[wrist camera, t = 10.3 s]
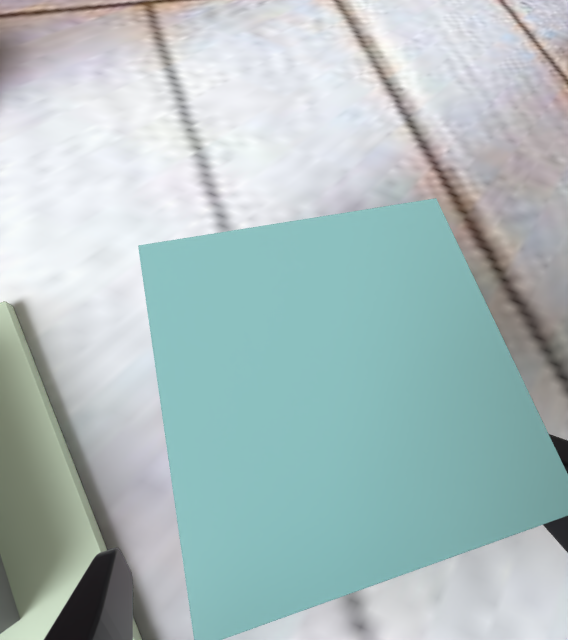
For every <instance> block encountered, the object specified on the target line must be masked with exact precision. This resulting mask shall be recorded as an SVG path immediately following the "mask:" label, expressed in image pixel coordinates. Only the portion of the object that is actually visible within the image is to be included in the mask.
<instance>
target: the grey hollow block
mask: <svg viewBox="0 0 568 640" xmlns="http://www.w3.org/2000/svg"><path fill="white" fill-rule="evenodd" d="M19 620H20V617H19V613H18V610H17V607H16V604H15V600H14V597H13V594H12V591H11V587H10V584H9V581H8V578H7V574H6V571H5V568H4V565H3V561H2V558H1V555H0V634H1V633H2V632H4V631H5V630H6V629H8V628H9V627H11V626H12V625H13V624H15V623H16V622H18V621H19Z"/></svg>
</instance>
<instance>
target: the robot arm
mask: <svg viewBox="0 0 568 640" xmlns="http://www.w3.org/2000/svg"><path fill="white" fill-rule="evenodd" d="M549 436H550V438H551V440H552V442H553V444H554V447H555V449H556V451H557V453H558V455H559V457H560V459H561V461H562V463H563V465H564V468H565V470H566V472H567V474H568V441H567V440H564V439H561V438H559V437H556V436H553V435H550V434H549ZM543 525H544V526H545V528H546V529H547V530H548V531H549V532H550V533H551V534H552V535H553V537H554V538H555V539H556V540H557V541H558V542H559V543H560V544H561V546H562V547H563V548H564V549H565V550H566V551H567V552H568V516H565V517H562V518H559V519H557V520H554V521H551V522H548V523H546V524H543ZM44 640H133V580H132V574H131V570H130V568H129V566H128V564H127V562H126V560H125V558H124V556H123V554H122V552H121V550H120V549H119V548H112V549H109V550H106V551H103V552H100V553H98V554H97V555H96V556H95V557H94V559H93V560H92V562H91V563H90V565H89V567H88V568H87V570H86V572H85V573H84V575H83V576H82V578H81V580H80V581H79V583H78V585H77V586H76V588H75V590H74V591H73V593H72V594H71V596H70V598H69V599H68V601H67V603H66V604H65V606H64V607H63V609H62V611H61V612H60V614H59V616H58V617H57V619H56V620H55V622H54V624H53V625H52V627H51V629H50V630H49V632H48V634H47V635H46V637H45V638H44Z"/></svg>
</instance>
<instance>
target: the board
mask: <svg viewBox="0 0 568 640" xmlns="http://www.w3.org/2000/svg"><path fill="white" fill-rule="evenodd" d="M106 550H107V548H106V546H105V543H104V540H103V538H102V535H101V533H100V530H99V528H98V525H97V522H96V520H95V517H94V515H93V512H92V509H91V507H90V504H89V502H88V499H87V497H86V494H85V491H84V489H83V486H82V484H81V481H80V478H79V476H78V473H77V471H76V468H75V466H74V463H73V460H72V458H71V455H70V453H69V450H68V447H67V445H66V442H65V440H64V437H63V435H62V432H61V429H60V427H59V424H58V422H57V419H56V417H55V414H54V411H53V409H52V406H51V404H50V401H49V398H48V396H47V393H46V391H45V388H44V386H43V383H42V380H41V378H40V375H39V373H38V370H37V367H36V365H35V362H34V360H33V357H32V355H31V352H30V349H29V347H28V344H27V342H26V339H25V337H24V334H23V331H22V329H21V326H20V324H19V321H18V318H17V316H16V313H15V311H14V308H13V306H12V305H10V304H9V303H7V302H5V301H4V302H2V303H0V555H1V558H2V561H3V565H4V568H5V571H6V574H7V578H8V581H9V584H10V587H11V591H12V594H13V597H14V600H15V604H16V607H17V610H18V613H19V617H20V620H19V621H18V622H16V623H15V624H13V625H12V626H11V627H9V628H8V629H6V630H5V631H4V632H2V633H1V634H0V640H44V638H45V637H46V635H47V634H48V632H49V630H50V629H51V627H52V625H53V624H54V622H55V620H56V619H57V617H58V616H59V614H60V612H61V611H62V609H63V607H64V606H65V604H66V603H67V601H68V599H69V598H70V596H71V594H72V593H73V591H74V590H75V588H76V586H77V585H78V583H79V581H80V580H81V578H82V576H83V575H84V573H85V572H86V570H87V568H88V567H89V565H90V563H91V562H92V560H93V559H94V557H95V556H96V555H97V554H98V553H100V552H103V551H106ZM133 640H142V638H141V636H140V633H139V631H138V628H137V626H136V623H135V620H134V618H133Z"/></svg>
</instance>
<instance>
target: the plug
mask: <svg viewBox="0 0 568 640" xmlns="http://www.w3.org/2000/svg"><path fill="white" fill-rule="evenodd" d="M138 247H139V254H140V261H141V268H142V275H143V282H144V289H145V296H146V304H147V311H148V318H149V325H150V332H151V339H152V346H153V353H154V360H155V367H156V374H157V381H158V388H159V395H160V402H161V409H162V416H163V423H164V430H165V437H166V444H167V451H168V459H169V466H170V473H171V480H172V487H173V494H174V501H175V508H176V515H177V522H178V529H179V536H180V543H181V550H182V557H183V564H184V571H185V578H186V585H187V592H188V599H189V606H190V614H191V621H192V628H193V635H194V640H222V639H225V638H228V637H230V636H233V635H236V634H239V633H242V632H244V631H247V630H250V629H253V628H256V627H258V626H261V625H264V624H267V623H270V622H272V621H275V620H278V619H281V618H283V617H286V616H289V615H292V614H295V613H297V612H300V611H303V610H306V609H309V608H311V607H314V606H317V605H320V604H322V603H325V602H328V601H331V600H334V599H336V598H339V597H342V596H345V595H348V594H350V593H353V592H356V591H359V590H362V589H364V588H367V587H370V586H373V585H375V584H378V583H381V582H384V581H387V580H389V579H392V578H395V577H398V576H401V575H403V574H406V573H409V572H412V571H415V570H417V569H420V568H423V567H426V566H428V565H431V564H434V563H437V562H440V561H442V560H445V559H448V558H451V557H454V556H456V555H459V554H462V553H465V552H467V551H470V550H473V549H476V548H479V547H481V546H484V545H487V544H490V543H493V542H495V541H498V540H501V539H504V538H507V537H509V536H512V535H515V534H518V533H520V532H523V531H526V530H529V529H532V528H534V527H537V526H540V525H543V524H546V523H548V522H551V521H554V520H557V519H559V518H562V517H565V516H568V474H567V472H566V470H565V468H564V465H563V463H562V461H561V459H560V457H559V455H558V453H557V451H556V449H555V447H554V444H553V442H552V440H551V438H550V436H549V434H548V432H547V430H546V428H545V426H544V424H543V421H542V419H541V417H540V415H539V413H538V411H537V409H536V407H535V405H534V403H533V400H532V398H531V396H530V394H529V392H528V390H527V388H526V386H525V384H524V382H523V380H522V377H521V375H520V373H519V371H518V369H517V367H516V365H515V363H514V361H513V359H512V357H511V354H510V352H509V350H508V348H507V346H506V344H505V342H504V340H503V338H502V336H501V333H500V331H499V329H498V327H497V325H496V323H495V321H494V319H493V317H492V315H491V313H490V310H489V308H488V306H487V304H486V302H485V300H484V298H483V296H482V294H481V292H480V289H479V287H478V285H477V283H476V281H475V279H474V277H473V275H472V273H471V271H470V269H469V266H468V264H467V262H466V260H465V258H464V256H463V254H462V252H461V250H460V248H459V245H458V243H457V241H456V239H455V237H454V235H453V233H452V231H451V229H450V227H449V225H448V222H447V220H446V218H445V216H444V214H443V212H442V210H441V208H440V206H439V204H438V201H437V199H436V198H435V199H429V200H423V201H416V202H410V203H404V204H398V205H391V206H385V207H379V208H372V209H366V210H360V211H353V212H347V213H341V214H335V215H328V216H322V217H316V218H309V219H303V220H297V221H290V222H284V223H278V224H271V225H265V226H259V227H253V228H246V229H240V230H234V231H227V232H221V233H215V234H208V235H202V236H196V237H190V238H183V239H177V240H171V241H164V242H158V243H152V244H145V245H139V246H138Z"/></svg>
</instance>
